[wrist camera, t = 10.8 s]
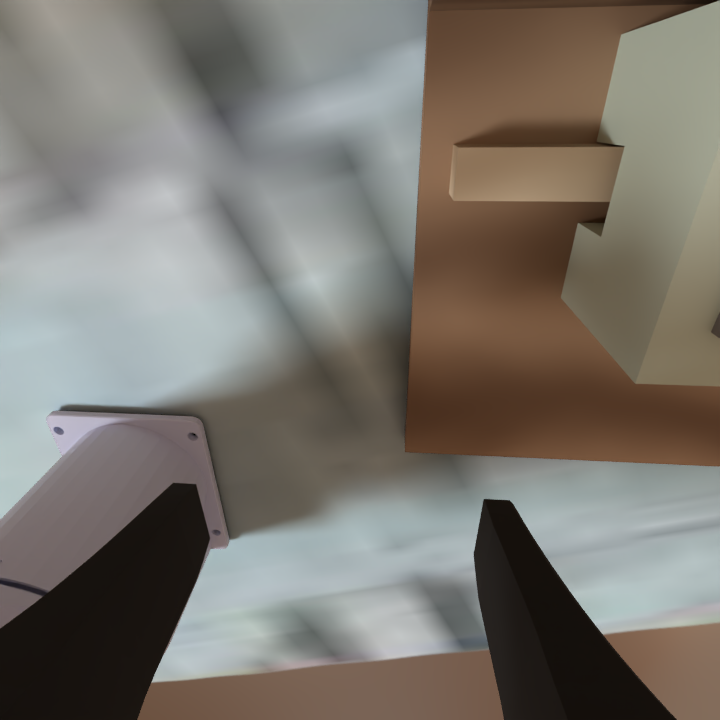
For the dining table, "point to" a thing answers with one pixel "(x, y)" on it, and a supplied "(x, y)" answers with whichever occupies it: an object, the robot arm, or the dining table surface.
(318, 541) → the dining table surface
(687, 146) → the cabinet block
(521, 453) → the wall board
